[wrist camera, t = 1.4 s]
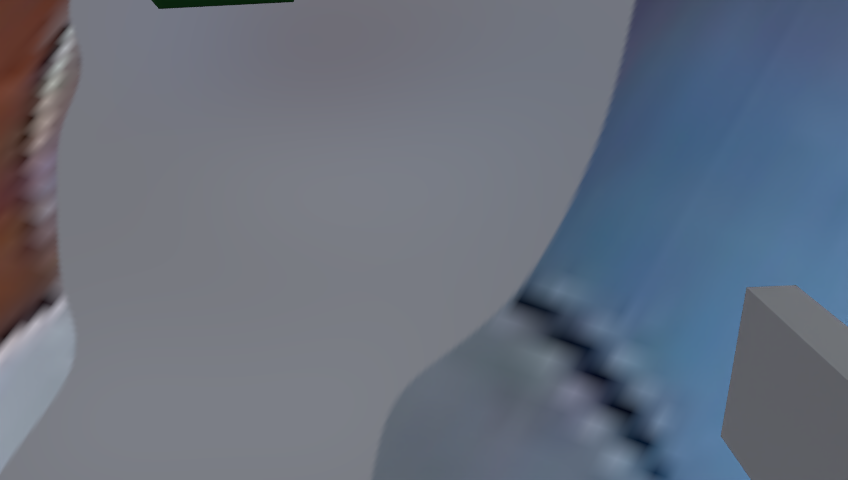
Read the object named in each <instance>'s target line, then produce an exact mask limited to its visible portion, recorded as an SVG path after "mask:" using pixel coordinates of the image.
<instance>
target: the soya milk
mask: <svg viewBox="0 0 848 480" xmlns="http://www.w3.org/2000/svg"><path fill="white" fill-rule="evenodd" d="M152 1H153V2H154V4H155V5H156V6H157V7H158V8H159V9H164V8H183V7H203V6H223V5H242V4H260V3H281V2H294V0H152Z"/></svg>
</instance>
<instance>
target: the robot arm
mask: <svg viewBox="0 0 848 480" xmlns="http://www.w3.org/2000/svg"><path fill="white" fill-rule="evenodd" d="M721 437H722V439H723V440H724V441H725V443H726V444H727V446H728V447H729V449H730V450H731V451H732V453H733V454H734V456H735V457H736V459H737V460H738V461H739V463H740V464H741V466H742V467H743V469H744V470H745V472H746V473H747V474H748V476H749V477H750V479H751V480H848V327H847V326H846V325H845V324H843V323H842V322H841V321H840V320H838V319H837V318H836V317H835V316H833V315H832V314H831V313H830V312H828V311H827V310H826V309H825V308H824V307H822V306H821V305H820V304H819V303H817V302H816V301H815V300H814V299H812V298H811V297H810V296H809V295H807V294H806V293H805V292H804V291H802V290H801V289H800V288H799V287H797V286H796V285H793V286H769V287H747V288H746V294H745V300H744V305H743V311H742V317H741V323H740V328H739V334H738V340H737V346H736V351H735V357H734V363H733V369H732V374H731V380H730V386H729V392H728V397H727V403H726V409H725V415H724V421H723V426H722V432H721Z"/></svg>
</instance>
